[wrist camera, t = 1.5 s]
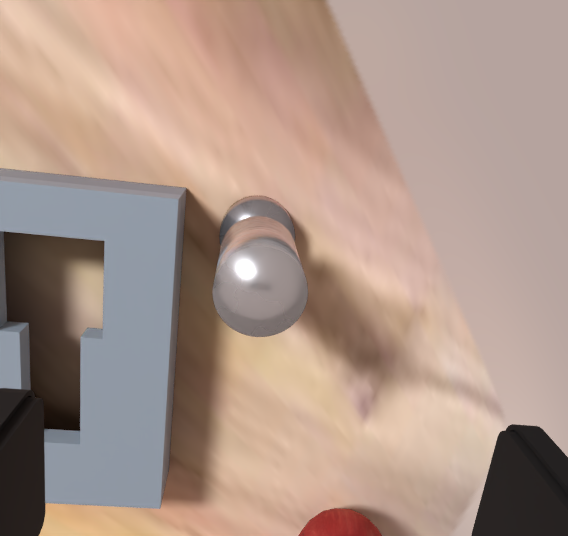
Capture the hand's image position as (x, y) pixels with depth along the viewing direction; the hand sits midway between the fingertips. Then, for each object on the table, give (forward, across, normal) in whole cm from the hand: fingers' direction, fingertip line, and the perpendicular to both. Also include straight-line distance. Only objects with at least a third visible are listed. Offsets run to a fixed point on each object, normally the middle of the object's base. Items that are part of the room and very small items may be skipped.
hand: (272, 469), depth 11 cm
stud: (+20, 0, 0) cm, 20 cm away
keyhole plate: (+20, +10, +7) cm, 23 cm away
